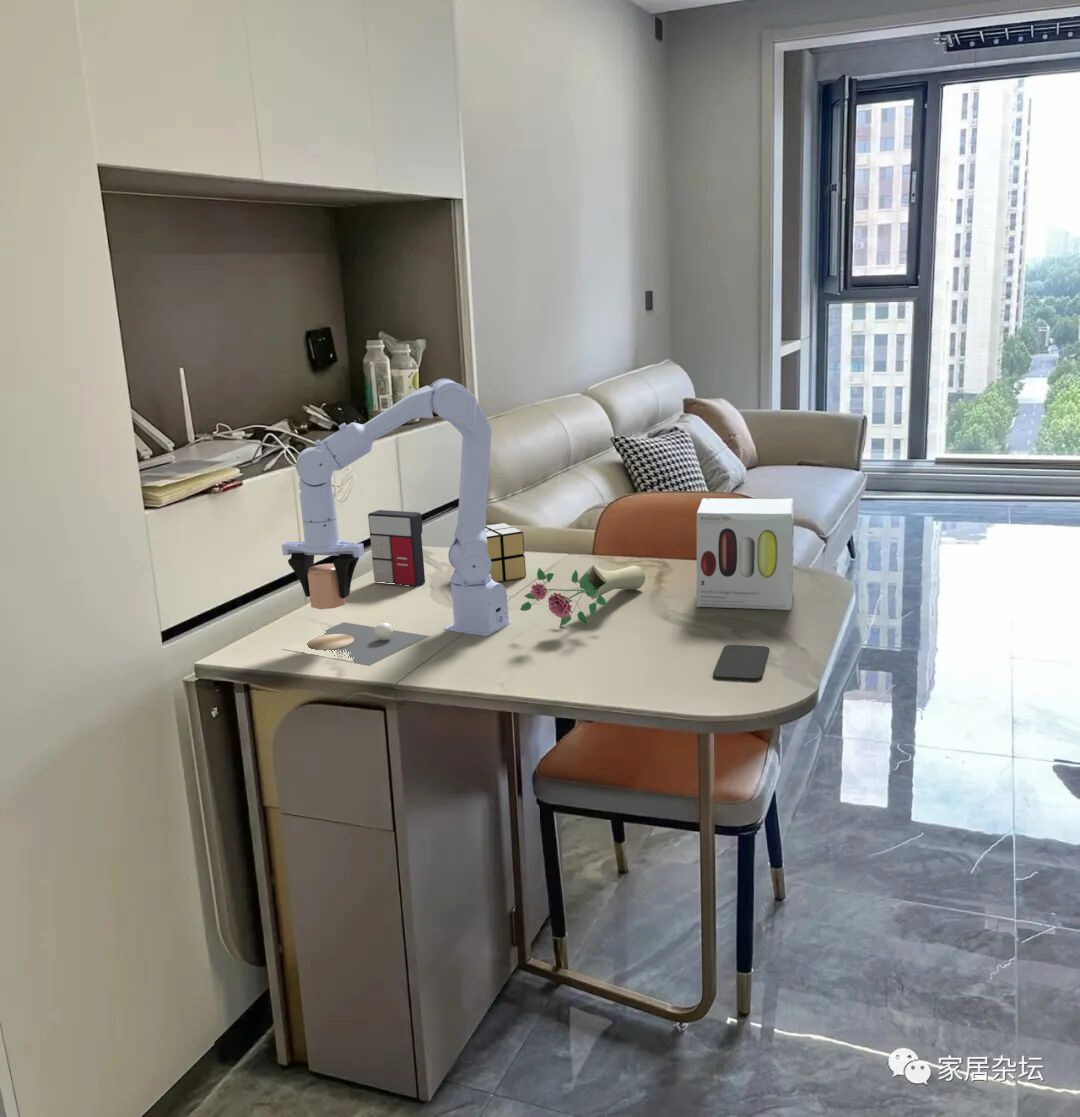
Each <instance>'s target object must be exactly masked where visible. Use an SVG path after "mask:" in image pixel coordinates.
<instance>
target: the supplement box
mask: <svg viewBox="0 0 1080 1117" xmlns="http://www.w3.org/2000/svg"><path fill="white" fill-rule="evenodd" d="M794 527H795V507H794V498H793V497H789V498H783V497H781V498H780V497H779V498H778V497H777V498H776V497H773V498H769V497H768V498H767V497H766V498H765V497H764V498H760V497H759V498H757V497H749V498H747V497H743V498H741V497H739V498H738V497H737V498H734V497H733V498H731V497H730V498H728V497H727V498H724V497H723V498H721V497H720V498H719V497H718V498H716V497H715V498H714V497H712V498H710V497H709V498H706V497H705V498H704V497H703V498H702V499H701V501H700V504H699V506H698V509H697V512H696V608H721V609H722V608H723V609H725V608H726V609H727V608H728V609H753V610H754V609H756V610H779V611H781V610H782V611H791V610H792V605H793V596H792V595H793V594H794V539H795V537H794V533H795V532H794V531H795V528H794Z"/></svg>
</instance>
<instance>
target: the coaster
mask: <svg viewBox="0 0 1080 1117" xmlns="http://www.w3.org/2000/svg"><path fill="white" fill-rule="evenodd" d="M353 642H354V638H353V637H352V636H350V635H346V634H329V635H323V636H319V637H316V638H314V639H312V640H310V641H309V642H308V643H307V645H308V647H309V648H311V649H315V650H324V651H326V650H336V649H341V648H344V647H347V646H349V645H351V644H352V643H353Z"/></svg>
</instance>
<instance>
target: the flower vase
mask: <svg viewBox="0 0 1080 1117" xmlns="http://www.w3.org/2000/svg"><path fill="white" fill-rule="evenodd" d="M554 575H555V573H552V572H549V573H547V574H545V572H544V571H543V570H542V568H540V567H538V570H537V572H536V576H537V580H539V581H540V580H541V581H543V583H537V582H536V583H535V584H534V583H533V584H532V586H531V587H530V588H531V590H530V592H528V593H527V594H525V595H523V597H525V598H526V599H529V600H530V599H531V600H536V601H535V602H533V603H532V604H531V603H530V601H526V602H524V603H523V604H522V605H521V606H520V607H521V608H520V609H519V610H520V611H522V612H527V611H530V610H531V608H532V606H533V605H534V604H535V603H536V602H540V600H541V601H543V600H544V599H546V597H547V594H549V593H550V592H551V591H554V592H553V594H552V593H551V594H550V596H548V601H547V602H548V610H549V611H550V612H551V613H552V614H554V616H556V617H557V618H560V624H559V625H560V627H561V626H565V625H566V624H568V623H569V622H570V621H571V620H572V614H573V613H574V611H575V609H576V606H577V608H578V609H579V611H578V613H577V614H576V616H577V618H578V620H579V621H580V622H581V623H582V624H584V625H586V626H587V625H588V624H587V618H586V616H585V613H584V612H583V611H581V610H580V607H579V605H578V603H579V601H580V598H582V596H583V594H585V595H586V596H587V597H590V599H592V600H594V601H593V603H590V604H588V610H589V613H590V614H591V615H592V617H595V614H596V612H597V605H598V604H599V605H600V606H608V603H607V601H606V599H605V598H604V596H602V595H605V594H607V593H610V592H611V591H613V590H629V591H630V590H631V591H636V589H637V590H639V589H641V588H642V587H643V586H644V584H645V580H646V575H645V572H644V570H643V569H642V568H641V567H640V566H639V565H634V564H633V565H632V564H631V565H629V566H627V567H622V568H619V569H614V570H606V569H602V568H600V567H598V566H596V565H592V566H591V567H590V568H589V569H588V570H587V571H585V573H584V574H583V575H581V577H580V578H579V574H578V571H577V569H575V570H574V572H573V573H572V576H571V579H570V581H571V582H573V583H574V584H575V585H577V583H578V584H579V586H576V588H577V589H576V588H575V589H566V588H565V589H562V588H561V589H557V588H547V586H546V583H548V584H549V583H550V582H551V580H552V579H553V578H554ZM544 580H546V581H544ZM555 591H565V592H568V591H569V592H572V591H573V592H575V591H576V593H574V594H573V595H570V596H568V597H567V596H566V595H565V594H564V595H562V594H561V592H559V593H557V592H555ZM580 594H581V595H580ZM578 595H580V596H579V598H578V600H577V601H576V604H575V606H574V608H573V606H572V604H570V603H571V602H573V599H572V598H574V597H576V596H578ZM572 608H573V611H572Z"/></svg>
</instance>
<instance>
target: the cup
mask: <svg viewBox="0 0 1080 1117" xmlns="http://www.w3.org/2000/svg"><path fill="white" fill-rule="evenodd" d="M308 582H309V591H310V597H309V600H310V607H311V608H313V609H318V610H330V609H335V608H340V607H341V606H342V607H343V606H344V605H345V603H346V598H341V597H340V593H339V583H338V577H337V573H336V569H335V567H334V564H333V563H322V564H317V565H314V566H312V567H310V568H309V569H308Z"/></svg>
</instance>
